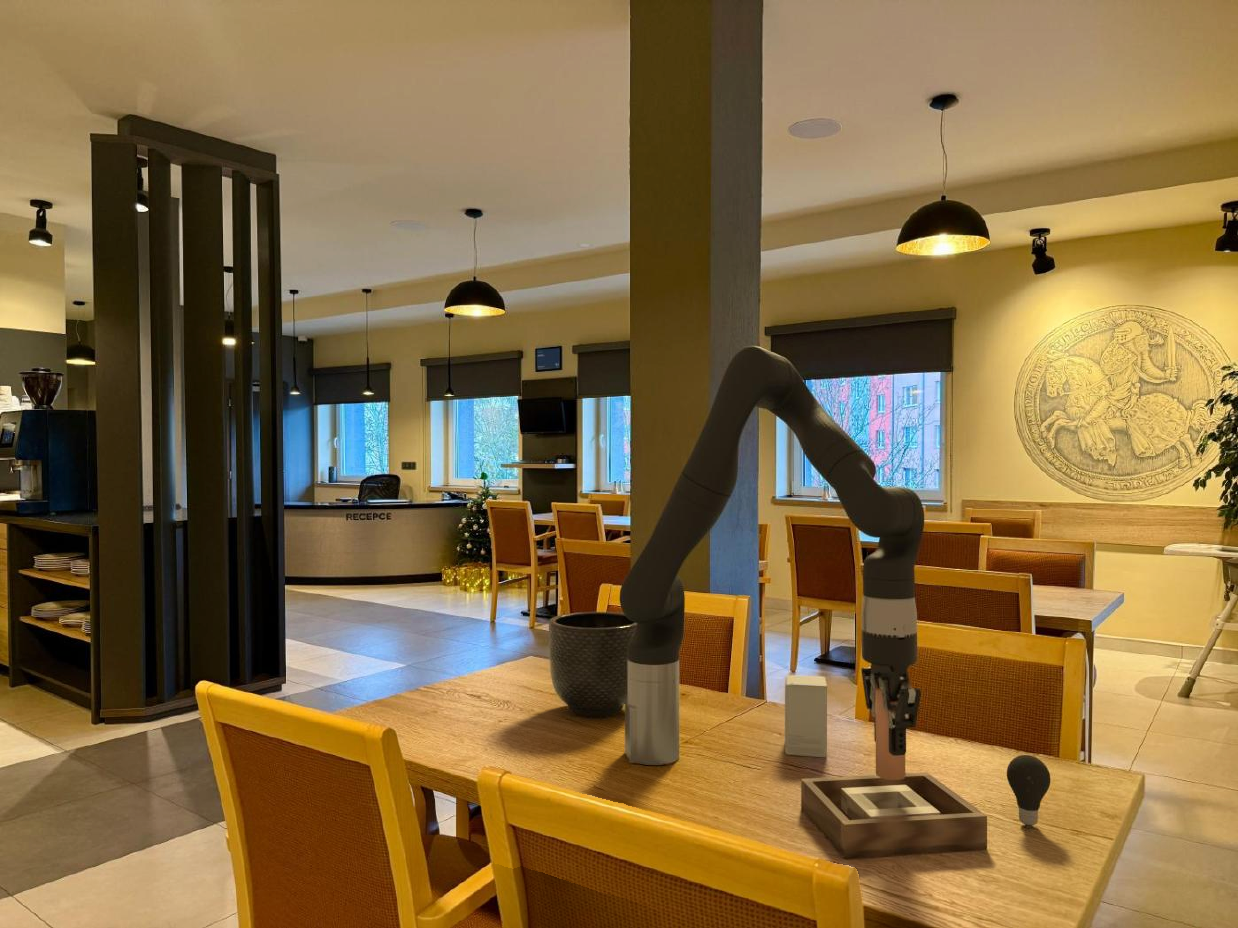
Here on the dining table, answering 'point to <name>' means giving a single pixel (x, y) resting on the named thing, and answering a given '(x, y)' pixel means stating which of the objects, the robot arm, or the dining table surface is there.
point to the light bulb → (1028, 786)
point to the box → (892, 816)
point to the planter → (590, 661)
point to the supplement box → (806, 716)
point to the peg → (886, 745)
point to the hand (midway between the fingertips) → (890, 748)
